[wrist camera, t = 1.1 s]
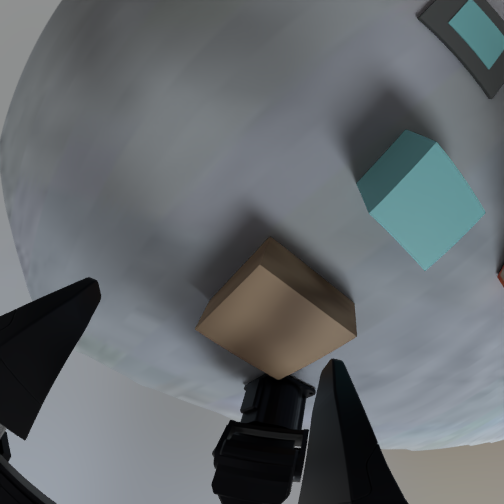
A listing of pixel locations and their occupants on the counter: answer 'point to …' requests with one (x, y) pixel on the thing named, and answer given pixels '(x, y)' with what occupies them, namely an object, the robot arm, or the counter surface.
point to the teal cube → (420, 198)
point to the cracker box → (501, 276)
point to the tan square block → (278, 313)
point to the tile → (471, 38)
